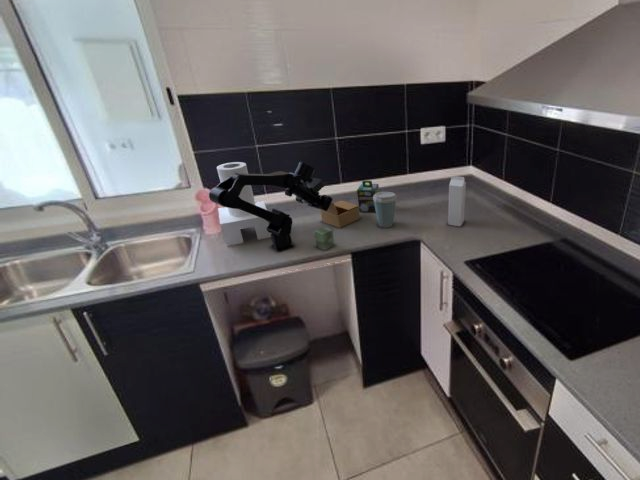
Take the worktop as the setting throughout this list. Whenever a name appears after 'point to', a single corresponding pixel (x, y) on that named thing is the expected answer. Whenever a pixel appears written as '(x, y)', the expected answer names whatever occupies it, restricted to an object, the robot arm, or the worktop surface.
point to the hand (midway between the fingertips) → (326, 207)
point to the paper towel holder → (237, 218)
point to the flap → (332, 208)
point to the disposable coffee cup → (385, 208)
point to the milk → (456, 201)
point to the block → (324, 238)
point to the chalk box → (367, 196)
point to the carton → (341, 214)
